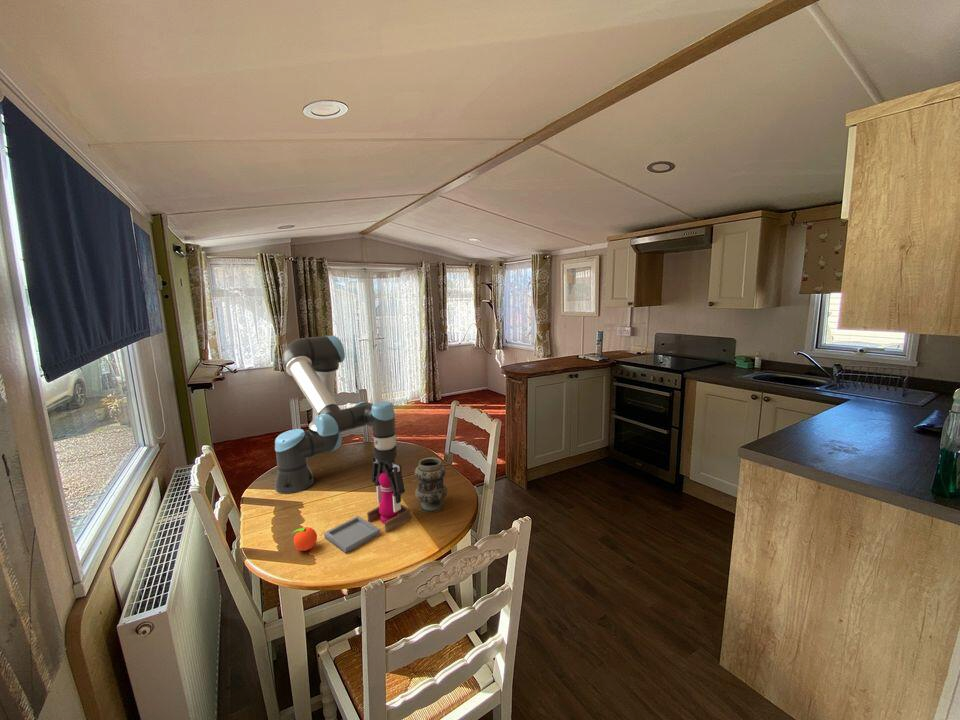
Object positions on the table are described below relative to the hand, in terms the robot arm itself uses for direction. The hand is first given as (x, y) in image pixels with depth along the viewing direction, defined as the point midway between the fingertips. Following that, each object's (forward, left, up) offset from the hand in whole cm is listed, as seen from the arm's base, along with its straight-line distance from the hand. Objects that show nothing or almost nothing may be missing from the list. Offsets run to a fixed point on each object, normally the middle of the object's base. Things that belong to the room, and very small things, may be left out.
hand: (389, 506), depth 143 cm
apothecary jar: (+5, +16, -6) cm, 18 cm away
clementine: (-8, -27, -6) cm, 29 cm away
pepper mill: (0, 0, -6) cm, 6 cm away
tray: (-2, -14, -5) cm, 15 cm away
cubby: (0, 0, -5) cm, 5 cm away
